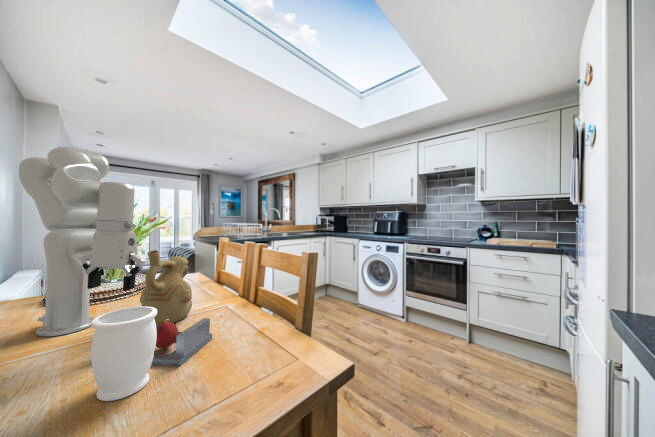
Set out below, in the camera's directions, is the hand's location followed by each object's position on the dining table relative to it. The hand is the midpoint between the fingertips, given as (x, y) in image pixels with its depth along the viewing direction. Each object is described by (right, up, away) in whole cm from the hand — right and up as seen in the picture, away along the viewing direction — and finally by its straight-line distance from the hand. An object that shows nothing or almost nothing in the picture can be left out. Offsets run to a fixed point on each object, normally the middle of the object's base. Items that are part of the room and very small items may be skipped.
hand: (111, 288), depth 67 cm
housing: (+14, -16, -2) cm, 21 cm away
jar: (+18, -16, -17) cm, 29 cm away
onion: (+16, -16, -2) cm, 23 cm away
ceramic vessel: (+3, -16, +18) cm, 24 cm away
